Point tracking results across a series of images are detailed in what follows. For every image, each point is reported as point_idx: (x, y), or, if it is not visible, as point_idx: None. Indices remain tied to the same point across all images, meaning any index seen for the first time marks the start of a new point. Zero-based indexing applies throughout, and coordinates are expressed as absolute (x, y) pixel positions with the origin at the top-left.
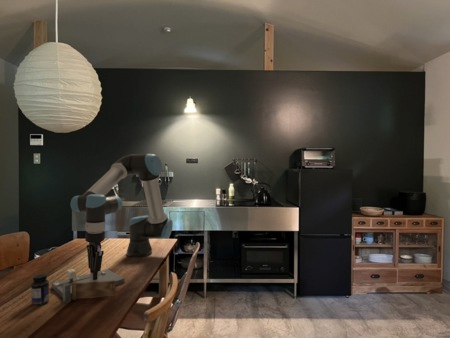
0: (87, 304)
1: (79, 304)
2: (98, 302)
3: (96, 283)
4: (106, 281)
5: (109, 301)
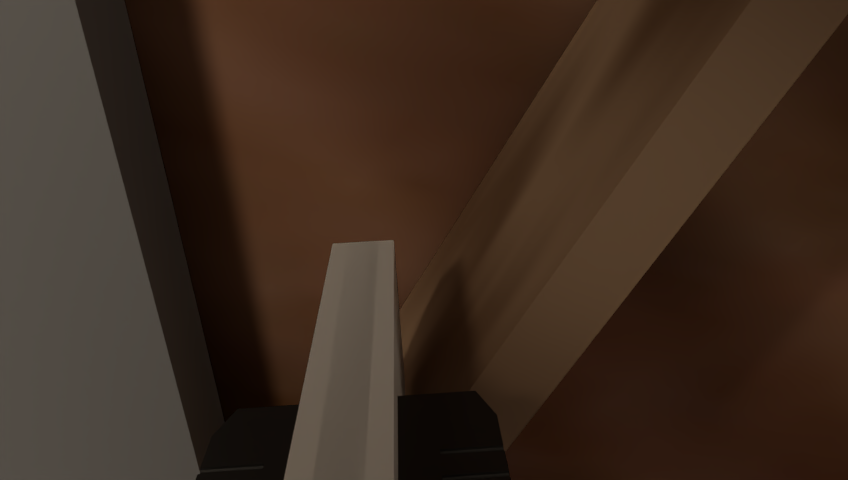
0: (645, 390)
1: (555, 466)
2: (712, 245)
3: (545, 376)
4: (706, 141)
5: (838, 79)
